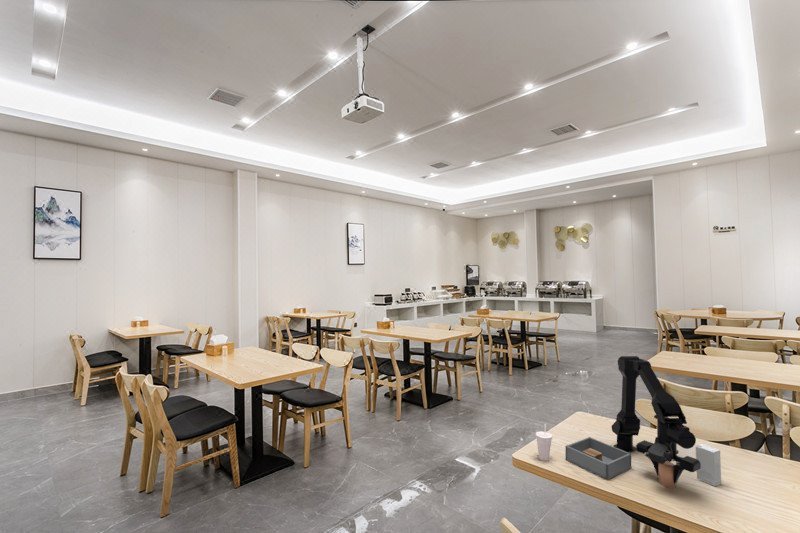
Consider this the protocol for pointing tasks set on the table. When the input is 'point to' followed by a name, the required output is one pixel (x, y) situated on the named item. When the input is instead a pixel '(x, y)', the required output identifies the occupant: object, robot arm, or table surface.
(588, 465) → the tote
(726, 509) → the table surface
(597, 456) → the cube
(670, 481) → the cylinder
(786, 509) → the table surface
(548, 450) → the smoothie
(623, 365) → the robot arm
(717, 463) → the skincare box
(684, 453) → the washcloth
